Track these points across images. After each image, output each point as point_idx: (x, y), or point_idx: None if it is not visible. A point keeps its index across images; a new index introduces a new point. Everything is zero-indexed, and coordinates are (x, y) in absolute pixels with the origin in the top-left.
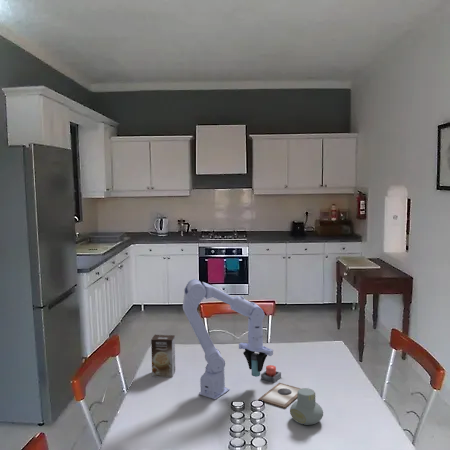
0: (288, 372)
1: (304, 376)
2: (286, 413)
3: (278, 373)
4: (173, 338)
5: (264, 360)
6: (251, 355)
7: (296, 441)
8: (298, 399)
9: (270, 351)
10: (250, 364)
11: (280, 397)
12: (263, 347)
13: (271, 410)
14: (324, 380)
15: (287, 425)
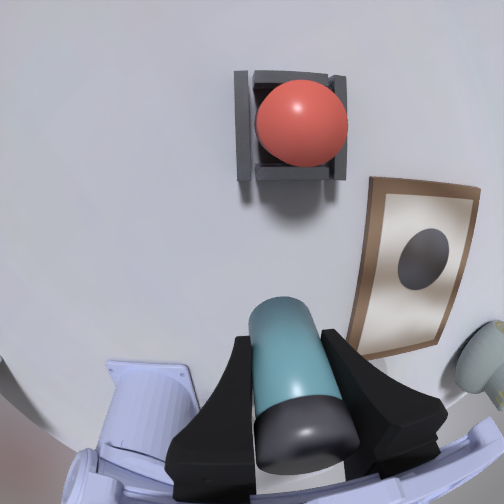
0: (333, 6)
1: (424, 30)
2: (438, 354)
3: (340, 99)
4: None
5: (384, 380)
6: (277, 474)
7: (452, 399)
8: (491, 400)
9: (481, 470)
10: (251, 396)
11: (418, 311)
12: (423, 494)
13: (398, 371)
14: (490, 54)
15: (440, 384)
